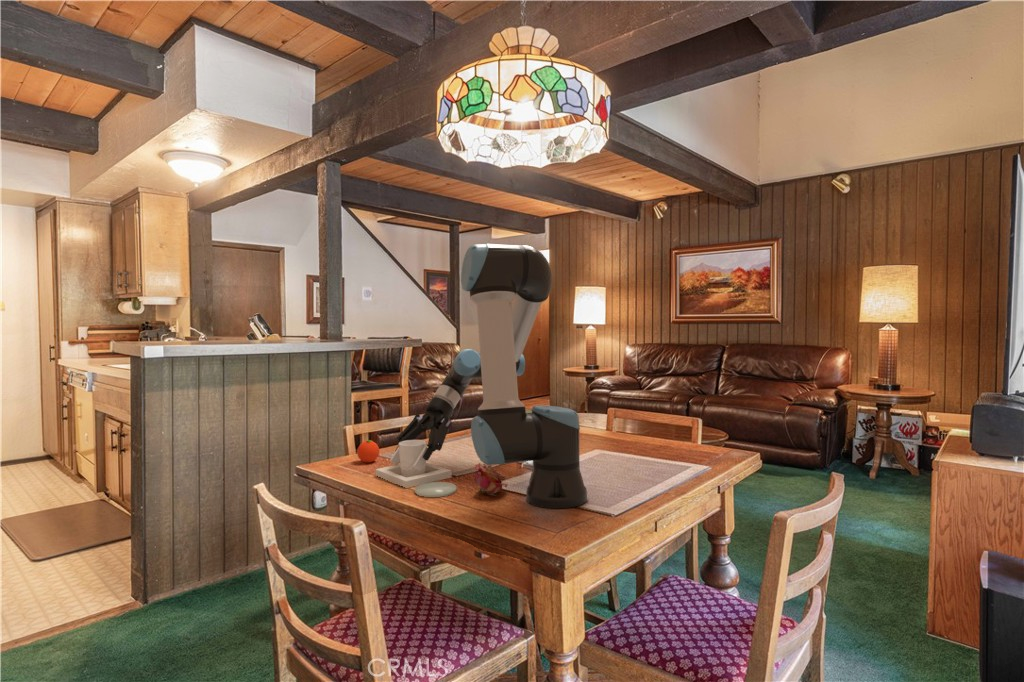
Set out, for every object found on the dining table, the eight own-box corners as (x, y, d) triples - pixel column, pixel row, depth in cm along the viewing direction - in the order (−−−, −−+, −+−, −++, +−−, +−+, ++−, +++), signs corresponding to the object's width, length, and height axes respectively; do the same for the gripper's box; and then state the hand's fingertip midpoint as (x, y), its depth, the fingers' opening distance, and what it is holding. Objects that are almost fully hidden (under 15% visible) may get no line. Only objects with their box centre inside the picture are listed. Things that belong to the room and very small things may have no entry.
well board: (451, 477, 159) (451, 470, 159) (406, 488, 149) (406, 481, 149) (419, 466, 172) (419, 460, 172) (375, 476, 162) (375, 469, 162)
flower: (475, 496, 136) (493, 468, 137) (458, 480, 144) (475, 454, 145) (500, 510, 142) (517, 483, 143) (482, 493, 149) (499, 468, 150)
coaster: (464, 491, 146) (464, 488, 146) (429, 500, 139) (429, 497, 139) (441, 482, 154) (441, 479, 154) (406, 491, 147) (406, 488, 147)
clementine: (362, 458, 182) (361, 437, 182) (383, 458, 182) (382, 437, 182) (354, 465, 174) (353, 442, 174) (376, 465, 174) (375, 442, 174)
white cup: (429, 473, 164) (429, 439, 164) (423, 480, 156) (422, 445, 156) (403, 472, 165) (403, 439, 164) (395, 480, 157) (395, 445, 156)
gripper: (475, 414, 165) (438, 479, 153) (424, 407, 179) (387, 467, 167) (463, 398, 161) (424, 464, 149) (412, 393, 174) (372, 453, 162)
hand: (404, 465), depth 158 cm, fingers open, 9 cm apart
